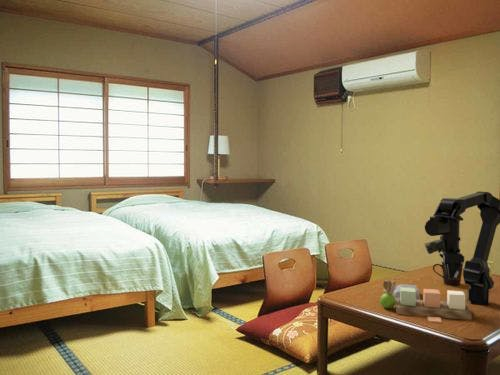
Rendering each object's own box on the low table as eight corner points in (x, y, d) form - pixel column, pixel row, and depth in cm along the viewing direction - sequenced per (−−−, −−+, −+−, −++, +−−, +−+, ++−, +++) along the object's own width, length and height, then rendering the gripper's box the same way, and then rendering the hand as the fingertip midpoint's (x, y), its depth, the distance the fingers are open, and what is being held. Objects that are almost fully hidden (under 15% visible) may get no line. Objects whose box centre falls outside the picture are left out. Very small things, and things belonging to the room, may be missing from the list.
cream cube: (462, 305, 158) (462, 291, 158) (465, 309, 153) (465, 295, 153) (447, 304, 159) (447, 290, 159) (449, 308, 155) (449, 294, 154)
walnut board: (465, 309, 161) (465, 302, 160) (471, 319, 150) (471, 312, 150) (395, 304, 167) (395, 297, 167) (396, 313, 157) (396, 307, 156)
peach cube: (438, 303, 160) (438, 289, 160) (440, 307, 155) (440, 293, 155) (423, 302, 162) (423, 288, 161) (424, 306, 157) (424, 292, 156)
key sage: (414, 301, 162) (414, 288, 162) (415, 305, 158) (415, 292, 157) (400, 300, 164) (400, 287, 163) (400, 304, 159) (400, 291, 159)
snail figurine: (388, 312, 158) (389, 278, 158) (376, 306, 164) (377, 274, 164) (400, 309, 161) (401, 277, 160) (388, 304, 167) (388, 273, 166)
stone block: (395, 304, 173) (422, 300, 171) (393, 292, 173) (419, 288, 171) (392, 296, 185) (417, 293, 183) (389, 285, 185) (414, 281, 183)
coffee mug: (464, 283, 195) (464, 260, 195) (461, 287, 188) (461, 264, 188) (435, 279, 202) (436, 257, 201) (432, 284, 194) (432, 261, 194)
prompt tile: (440, 318, 151) (440, 317, 151) (441, 322, 147) (441, 321, 147) (427, 317, 152) (427, 316, 152) (428, 321, 149) (428, 320, 149)
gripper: (423, 229, 170) (423, 269, 171) (429, 237, 152) (428, 282, 153) (455, 230, 167) (454, 271, 168) (465, 238, 149) (464, 284, 150)
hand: (449, 276), depth 160 cm, fingers open, 5 cm apart
